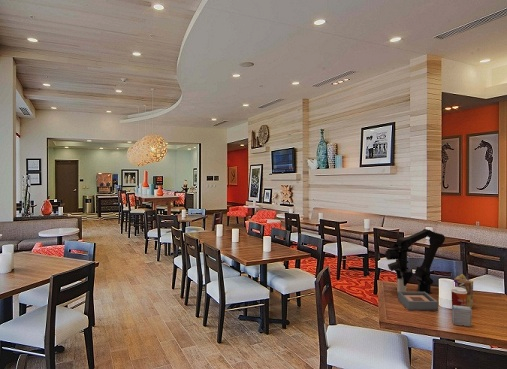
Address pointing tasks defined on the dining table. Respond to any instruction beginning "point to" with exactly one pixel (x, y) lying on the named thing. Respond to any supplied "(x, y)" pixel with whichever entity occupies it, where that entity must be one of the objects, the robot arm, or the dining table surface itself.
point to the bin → (417, 301)
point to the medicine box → (461, 315)
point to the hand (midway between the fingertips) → (401, 283)
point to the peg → (400, 285)
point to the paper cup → (458, 296)
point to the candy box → (469, 288)
